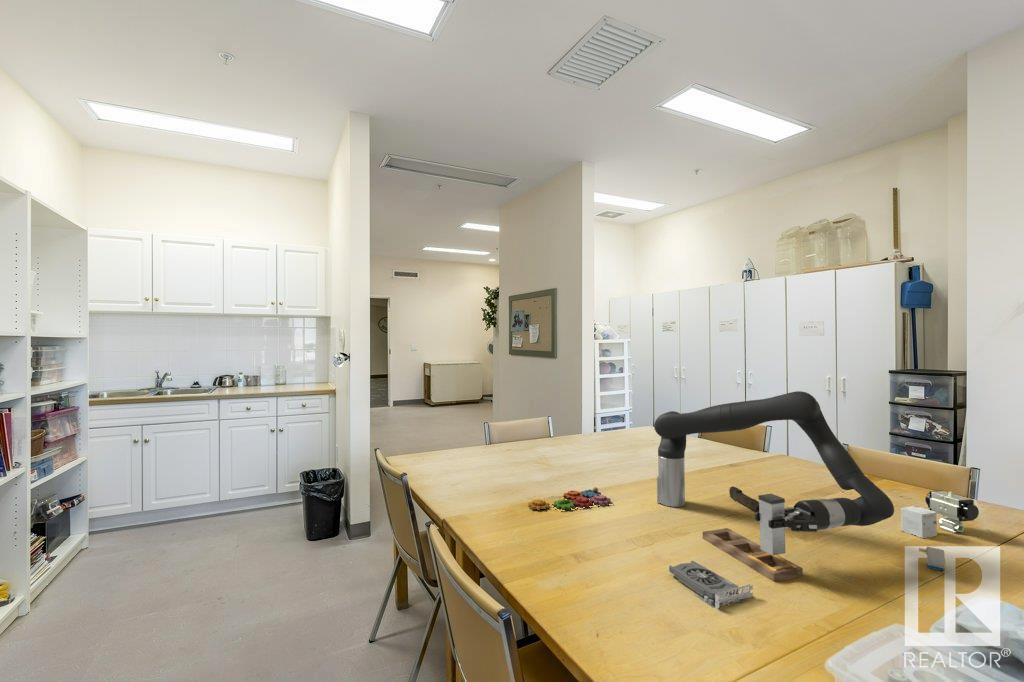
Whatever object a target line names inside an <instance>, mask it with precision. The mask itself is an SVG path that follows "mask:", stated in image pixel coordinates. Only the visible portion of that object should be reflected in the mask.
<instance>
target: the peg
mask: <svg viewBox="0 0 1024 682" xmlns="http://www.w3.org/2000/svg"><path fill="white" fill-rule="evenodd" d="M758 502H759V514H760V521H759V542H760V543H759V545H760V549H762V550H764V551H765V552H767V553H769V554H771V555H783V554H786V528H784V527H782V528H774V529H771V528H770V527H769V526H768V520H769V519H774V518H784V517H785V516H784V508H785V503H786V499H785V498H784V497H782V496H779V495H776V494H773V493H765V494H758Z"/></svg>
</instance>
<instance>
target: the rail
mask: <svg viewBox="0 0 1024 682" xmlns="http://www.w3.org/2000/svg"><path fill="white" fill-rule="evenodd" d="M726 538H727V539H728V538H729V539H728V541H726V540H725V539H726ZM702 539H703V540H704V541H706V542H708V543H710V544H711V545H713V546H715V547H716V548H718V549H720V550H721V551H723V552H725V553H726V554H727V555H730V556H731V557H732V558H734V559H736V560H737V561H739V562H741V563H742V564H744V565H746V566H747V567H749V568H751V569H753V570H754V571H755V572H758V573H759V574H760V575H762V576H764V577H766V578H767V579H769V580H770V581H772V582H779V581H784V580H790V579H795V578H801V577H803V576H804V574H803V570H804V569H803V567H801V566H799V565H798V564H796V563H794V562H792V561H790V560H788V559H786V558H784V557H782V556H781V555H780V554H778V555H771V554H769V553H767V552H765V551H764V550H762V549H760V544H758V543H756V542H754V541H753V540H751V539H749V538H747V537H745V536H743V535H742V534H739V533H737V532H736V531H734V530H732V529H730V528H728V527H726V528H720V529H719V528H718V529H712V530H706V531H704V530H703V531H702ZM745 551H750V552H751V553H747V552H745ZM770 564H773V565H774V566H773V567H772V566H771V565H770Z"/></svg>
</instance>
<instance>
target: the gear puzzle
mask: <svg viewBox="0 0 1024 682" xmlns="http://www.w3.org/2000/svg"><path fill="white" fill-rule="evenodd" d="M550 496H551V497H549V496H548V497H545V498H546V499H547V498H552V499H553V498H559V499H560V498H561V496H563V497H564V498H563V500H562V499H561V500H558V501H555V502H554V504H553V506H554V507H556V508H557V509H559V510H561V509H562V510H565V509H569V510H570V509H571V508H572V509H575V508H576V507H578V508H583V507H585V508H589V506H594V505H596V506H599V505H600V506H604V505H603V504H606V505H605V506H607V505H609V504H612V503H613V502H612V500H611V498H609V497H607V496H606V495H604V494H602V492H600V491H599V488H598V487H595V486H594V487H593V488H592V489H585V490H583V491H581V492H580V491H578V490H568V491H567V492H563V495H561V496H560V495H557V496H555V495H550ZM565 499H567V500H565ZM589 499H590V500H589ZM593 503H594V505H593ZM549 505H550V504H549V503H546V502H545V500H543V499H534V500H532V501H529V502H528V505H527V507H528V508H530V507H531V510H536V509H537V510H536V511H538V510H539V511H541V510H540V509H546V508H549V509H550V506H549ZM546 510H547V509H546ZM569 510H568V511H569ZM570 511H571V510H570Z"/></svg>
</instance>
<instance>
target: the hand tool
mask: <svg viewBox="0 0 1024 682" xmlns="http://www.w3.org/2000/svg"><path fill="white" fill-rule="evenodd" d="M728 492H729V497H730V498H731V499H732V500H733V501H734V502H736V501H738V502H737V503H740V504H742V505H743V506H745V507H747V508H748V509H751V510H752V511H754V512H755V513H756V512H759V500H757V499H756V498H752V497H751V496H748V495H747V494H745V493H744V492H743V490H741V489H740V488H738V487H737V486H731V487H729V490H728Z"/></svg>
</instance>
